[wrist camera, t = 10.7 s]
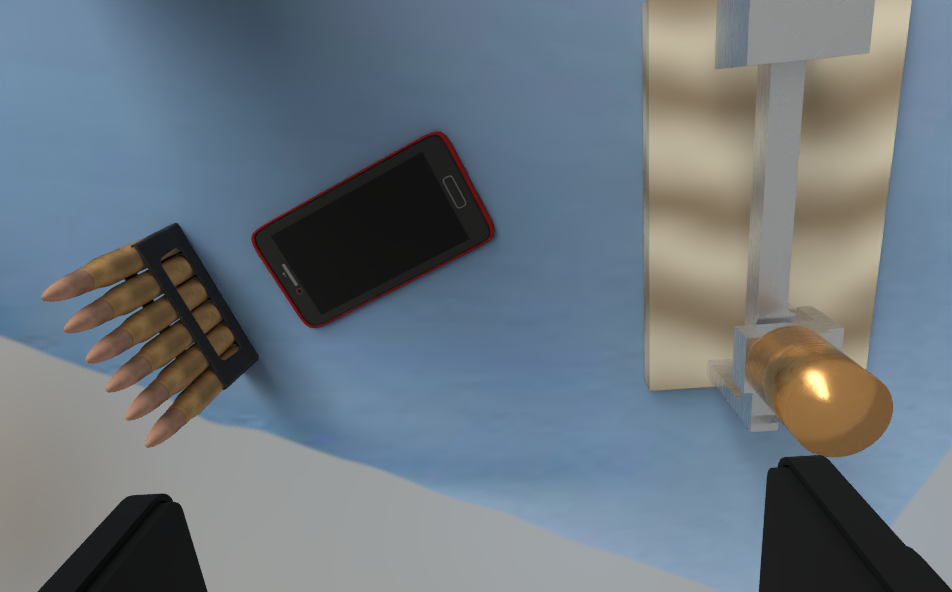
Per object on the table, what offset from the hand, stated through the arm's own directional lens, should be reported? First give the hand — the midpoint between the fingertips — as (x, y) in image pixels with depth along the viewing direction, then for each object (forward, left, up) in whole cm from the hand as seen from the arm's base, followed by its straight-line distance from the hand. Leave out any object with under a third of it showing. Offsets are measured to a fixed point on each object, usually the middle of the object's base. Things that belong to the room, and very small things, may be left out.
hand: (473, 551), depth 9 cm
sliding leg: (+7, +15, -28) cm, 33 cm away
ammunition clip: (+4, -20, -31) cm, 37 cm away
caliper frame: (+1, +14, -29) cm, 32 cm away
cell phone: (+1, -8, -31) cm, 32 cm away
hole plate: (+1, +17, -30) cm, 34 cm away
